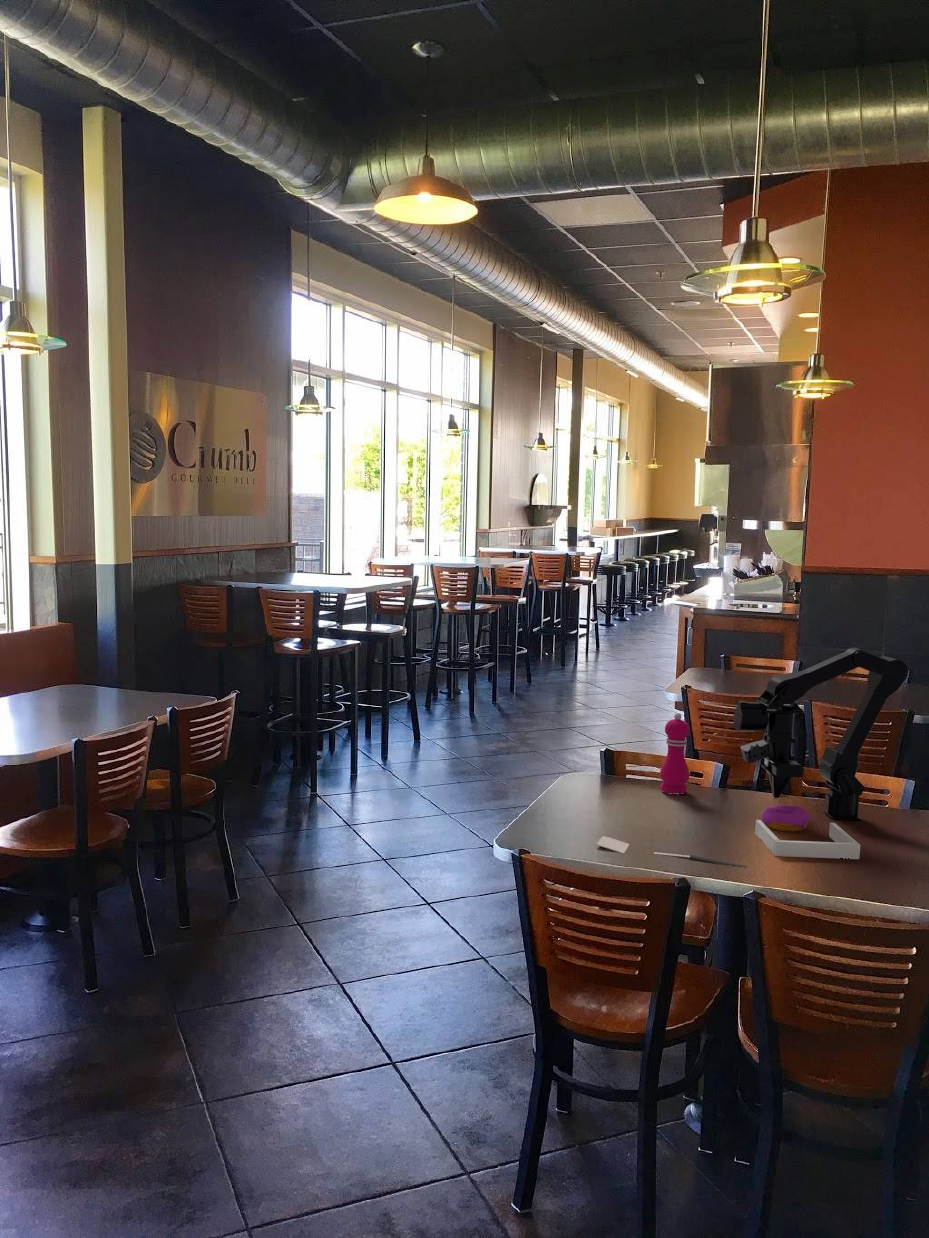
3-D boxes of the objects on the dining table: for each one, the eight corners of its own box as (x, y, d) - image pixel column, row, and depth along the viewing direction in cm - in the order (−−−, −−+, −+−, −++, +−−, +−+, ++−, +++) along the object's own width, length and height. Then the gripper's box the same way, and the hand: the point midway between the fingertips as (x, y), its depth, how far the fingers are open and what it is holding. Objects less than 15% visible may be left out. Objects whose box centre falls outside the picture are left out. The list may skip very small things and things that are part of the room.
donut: (774, 818, 223) (775, 798, 223) (817, 828, 216) (818, 808, 216) (753, 827, 215) (755, 807, 215) (798, 838, 209) (799, 817, 208)
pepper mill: (691, 796, 238) (695, 716, 237) (661, 795, 239) (666, 715, 237) (685, 788, 246) (689, 710, 244) (656, 787, 246) (660, 709, 244)
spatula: (602, 842, 203) (603, 835, 203) (747, 865, 192) (748, 857, 192) (595, 850, 197) (595, 843, 197) (744, 874, 186) (745, 867, 186)
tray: (833, 836, 210) (834, 822, 210) (859, 859, 196) (860, 844, 196) (755, 833, 211) (755, 819, 210) (775, 855, 196) (776, 841, 196)
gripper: (734, 722, 232) (730, 785, 234) (756, 739, 214) (752, 808, 215) (781, 723, 232) (777, 787, 234) (807, 740, 214) (802, 809, 215)
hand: (775, 797), depth 224 cm, fingers closed
